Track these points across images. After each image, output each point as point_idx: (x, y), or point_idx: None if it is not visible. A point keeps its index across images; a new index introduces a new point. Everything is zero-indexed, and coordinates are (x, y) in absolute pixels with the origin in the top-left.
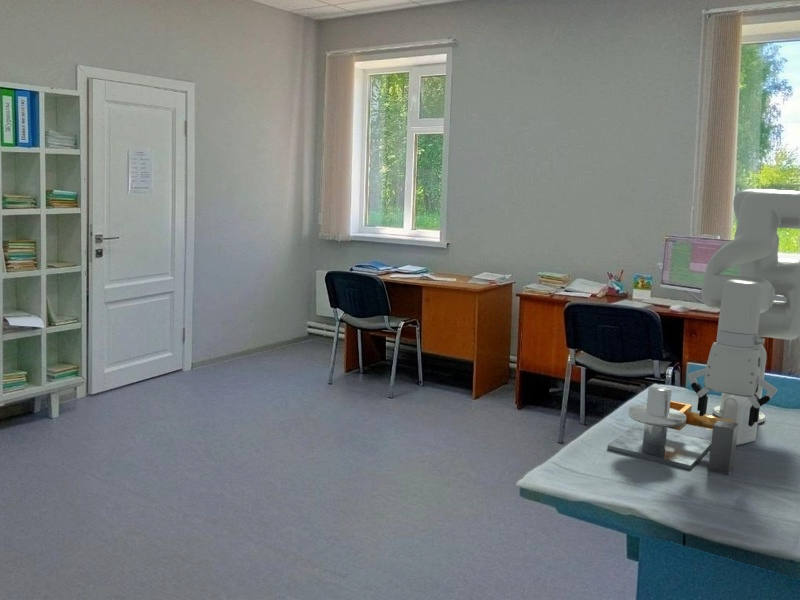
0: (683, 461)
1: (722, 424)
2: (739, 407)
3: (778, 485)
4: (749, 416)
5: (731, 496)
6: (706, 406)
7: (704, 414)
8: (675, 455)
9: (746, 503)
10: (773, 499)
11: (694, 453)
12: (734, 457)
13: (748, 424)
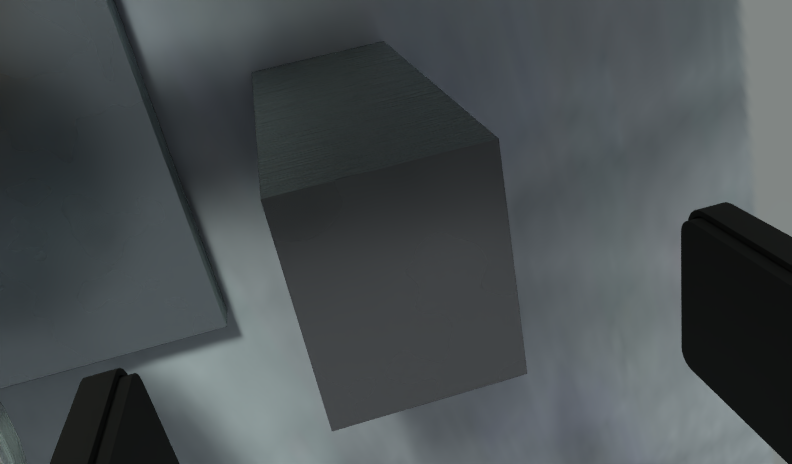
0: (154, 306)
1: (382, 331)
2: None
3: (671, 85)
4: (757, 430)
5: (528, 418)
6: (126, 459)
7: (165, 436)
8: (42, 255)
9: (597, 426)
10: (679, 292)
11: (87, 90)
12: (401, 58)
13: (691, 364)
